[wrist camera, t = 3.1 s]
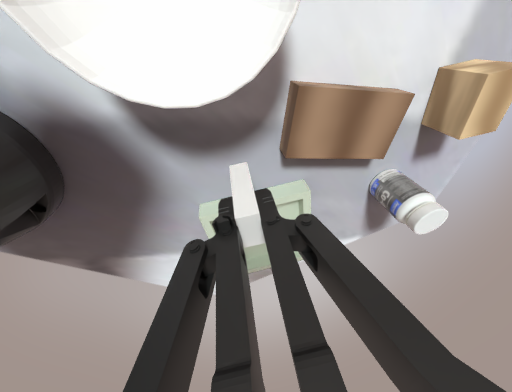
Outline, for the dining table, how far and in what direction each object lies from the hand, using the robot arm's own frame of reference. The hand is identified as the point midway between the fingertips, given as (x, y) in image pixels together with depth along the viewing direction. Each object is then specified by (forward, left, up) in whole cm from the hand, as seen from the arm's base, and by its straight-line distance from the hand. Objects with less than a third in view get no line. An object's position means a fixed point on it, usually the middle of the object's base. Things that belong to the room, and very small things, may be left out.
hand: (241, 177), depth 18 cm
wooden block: (+25, 0, -7) cm, 26 cm away
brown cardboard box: (+12, 0, -7) cm, 14 cm away
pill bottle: (+20, -11, -7) cm, 23 cm away
